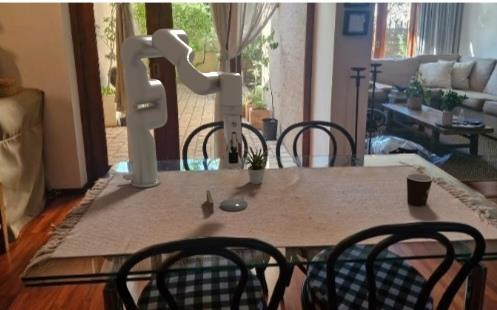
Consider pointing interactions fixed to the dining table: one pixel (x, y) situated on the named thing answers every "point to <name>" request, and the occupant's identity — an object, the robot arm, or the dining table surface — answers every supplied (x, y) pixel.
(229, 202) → the grey flat disc
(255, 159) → the house plant
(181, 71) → the robot arm
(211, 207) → the wooden plank
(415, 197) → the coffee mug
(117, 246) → the dining table surface
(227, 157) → the flask
